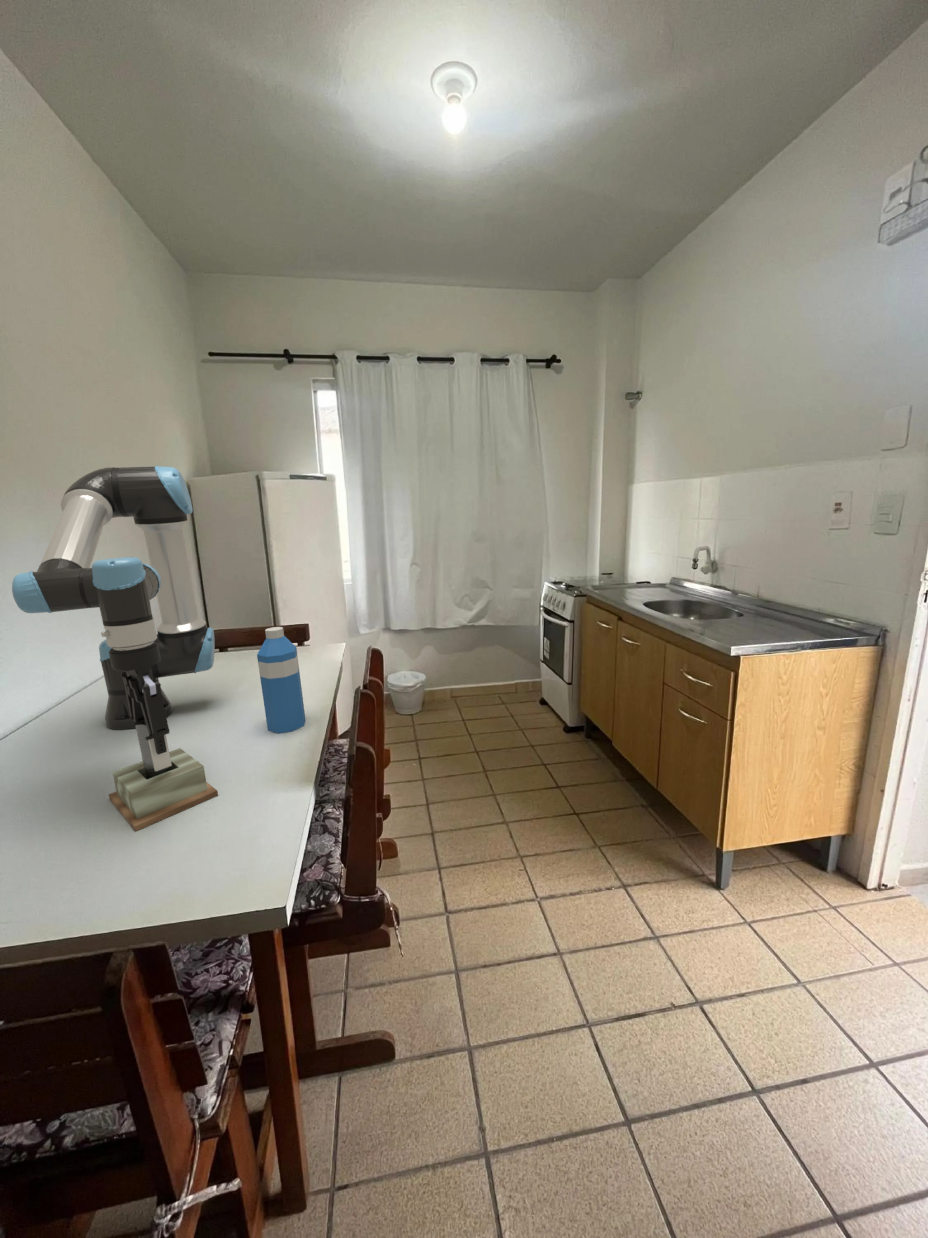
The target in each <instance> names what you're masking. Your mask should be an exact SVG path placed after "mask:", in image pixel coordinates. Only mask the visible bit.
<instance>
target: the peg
mask: <svg viewBox="0 0 928 1238" xmlns="http://www.w3.org/2000/svg"><path fill="white" fill-rule="evenodd" d="M135 731H137V732H136V736H137V740H139V741H138V745H140V746H139V750H140V749H141V751H140V755H141V754H142V756H141V759H142V758H143V759H142V761H143V763H144V768H145V772H146V777H147V779H150V778H152V777H155V776H158V775H160V774H163V773H166V772H168V771H171V770H170V766H169V767H167V768H164V769H161V770H159V771H155V770H154V766H153V761H152V756H151V751H150V746H149V741H148V740H146V739H145V737H148V736H149V732H148V729H147V725H146V722H145V721H143V722H140V723H138V724H137V725H136V728H135Z"/></svg>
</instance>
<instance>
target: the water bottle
mask: <svg viewBox="0 0 928 1238" xmlns="http://www.w3.org/2000/svg"><path fill="white" fill-rule="evenodd" d="M264 631H265V640H263V641H264V642H263V643H262V646H261V647H260V648H259V651H258V652H257V654H256V658H257V659H256V660H257V664H258V665H257V666H258V673H259V678H260V686H261V692H262V699H263V705H264V713H265V719H266V721H265V722H266V726H267V727H266V728H267V732H272V733H274V734H284V733H285V734H286V733H290V732H291V733H293V732H294V731H296V730H299V729H301V728H302V727H305V724H306V714H305V706H304V703H305V702H304V696H303V688H302V682H301V681H302V680H301V675H300V674H301V673H300V664H299V657H298V650H297V649H298V648H297V646H295V644H294V643H293V642H291V640H290V639H289V638H287V636H285V634H284V633H285V632H284V627H282V626H274V627H269V628H266V629H265V630H264Z"/></svg>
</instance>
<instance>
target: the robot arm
mask: <svg viewBox="0 0 928 1238" xmlns="http://www.w3.org/2000/svg"><path fill="white" fill-rule="evenodd" d="M60 508H61V509H60V510H61V511H62V513H61V515H60V518H59V520H58V523H57V525H56V527H55V530H54V532H53V535H52V536H51V539H50V541H49V544H48V545H47V548H46V550H45V552H44V555H43V557H42V559H41V562H40V564H39V566H38V569H37V570H36V571H33V570H29V571H28V572H20V573H18V574H16V575H15V576H14V577H13V580H12V585H11V593H12V596H13V599H14V601H15V604H16V605H17V608H19V610H21V611H22V612H24V613H27V614H40V613H42V614H43V613H49V614H51V613H57V612H58V613H59V612H66V611H77V610H83V609H84V610H85V609H91V608H92V609H95V608H99V612H100V616H101V621H102V625H103V629H104V630H103V631H102V632H100V635H101V637H102V638H105V639H104V640H103V641H101V642H100V644H99V646H98V651H99V662H100V664H101V668H102V672H103V677H104V681H105V686H106V690H107V694H108V695H107V696H108V697H107V698H108V699H107V704H106V710H105V715H104V721H105V725H106V727H107V728H108V729H112V730H130V729H136V725H137V724H138V723H140V722H143V721H145V722H146V725H147V729H148V732H149V736H148V737H145V739H146V740H148V741H149V746H150V751H151V756H152V761H153V766H154V770H155V771H159V770H161V769H164V768H167V767H169V766H172V764H171V759H170V754H169V752H170V750H169V743H168V740H167V739H168V737H167V735H168V734H170V731H171V730H170V728H169V722H168V720H167V719H168V718H167V717H169V716H170V715H171V714H172V712H173V708H172V704H171V701H170V700H169V698H168V697H167V694H166V693H165V692H164V690H163V688H162V687H161V686H162V685H161V683H160V680H159V678H160V679H161V678H167V677H175V676H181V675H188V674H197V673H201V672H205V671H209V670H211V669H212V668H213V666H214V664H215V663H214V662H215V647H216V646H215V644H216V643H215V642H216V641H215V632H214V630H215V629H214V628H213V627H207V622H206V620H204V619H202V618H201V617H200V616H199V613H198V612H199V611H198V607H197V601H196V596H195V591H194V585H193V580H192V574H191V568H190V564H189V563H190V562H189V558H188V557H189V556H188V551H187V546H186V541H185V540H186V539H185V536H184V530H183V528H184V527H185V525H186V524H187V523H188V521H189V520H188V516H189V515H191V514H192V513H193V510H194V509H193V506H192V500H191V496H190V493H189V489H188V487H187V483H186V481H185V479H184V476H183V475H182V473H181V471H179V469H177V468H175V467H174V466H173V467H172V466H158V465H155V466H130V467H129V466H127V467H122V466H121V467H103V468H98V469H96V470H93V471H91V472H89V473H87V474H85V475H83V476H82V477H80V478H78V479H77V480H76V481H75V482H73V483H72V484H71V485H70V486H68V488H67V490H66V491H65V492H64V494H63V496H62V498H61V500H60ZM129 517H131V518H132V519H133V520H134V525H135V526H137V527H138V528H139V529H140V530H142V531H143V534H144V535H143V536H144V540H145V543H146V549H147V553H148V560H149V564H150V565H149V564H147V563H143V562H142V559H141V558H139V557H134V556H133V557H132V556H130V557H129V556H126V557H113V558H105V559H104V558H103V559H98V560H95V561H94V562H93V560H94V556H95V553H96V550H97V547H98V544H99V541H100V537H101V535H102V532H103V528H104V526H105V525H108V523H109V522H110V521H111V520H112V519H113V518H129ZM92 562H93V563H92ZM155 597H156V598H157V602H158V608H159V611H160V612H159V613H160V618H161V623H160V624H159V626H157V628H156V625H155V624H156V623H155V621H154V617H153V614H152V606H151V600H152V599H154V598H155ZM135 731H136V730H135ZM136 733H137V731H136ZM137 740H138V739H137ZM138 742H139V740H138ZM138 745H139V744H138ZM139 747H140V745H139ZM139 752H141V749H140V748H139ZM140 756H141V760H143V758H142V754H141V753H140Z"/></svg>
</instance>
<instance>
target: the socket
mask: <svg viewBox="0 0 928 1238" xmlns="http://www.w3.org/2000/svg"><path fill="white" fill-rule="evenodd" d="M169 754H170V759H171V764H172V766H170V770H171V771H168V772H166V773H163V774H160V775H158V776H155V777H152V778H150V779H147V777H146V772H145V768H144V763H143V760H142V761H139V762H136V763H134V764H131V765H128V766H126V767H123V768H120V769H117V770H114V771H112V778H113V783H114V785H115V786H114V787H115V790H116V791H114V792H112V793H111V792H110V793H109V794H108V799H109V800H110V802H111V803H112V804H113V805H114V807H115V808H116V809H117V810H118V812H119V813H120V814H121V815H122V816H123V817H124V819H125V820H126V821H127V823H129V825H130V827H132V829H133V830H134V832H138V831H140V830H142V829H145V828H147V827H149V826H151V825H154V824H156V823H158V822H161V821H163V820H166V819H168V818H170V817H172V816H174V815H176V814H179V813H181V812H183V811H185V810H188V809H190V808H192V807H195V806H196V805H200V804H202V803H204V802H206V801H209V800H211V799H214V798H216V797H217V796H219V792H218V790H217V789H216V788H215V787H214V786H212V785H211V784H210V783H209V782H208V781H207V778H206V773H205V767H204V765H203V764H202V763H201V762H200V761H198V760H196V759H195V758H194V757H192V756H191V755H190V754H189V753H187V752H186V751H185V750H183V748H181V747H179V748H176V749H174V750H169Z"/></svg>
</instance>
